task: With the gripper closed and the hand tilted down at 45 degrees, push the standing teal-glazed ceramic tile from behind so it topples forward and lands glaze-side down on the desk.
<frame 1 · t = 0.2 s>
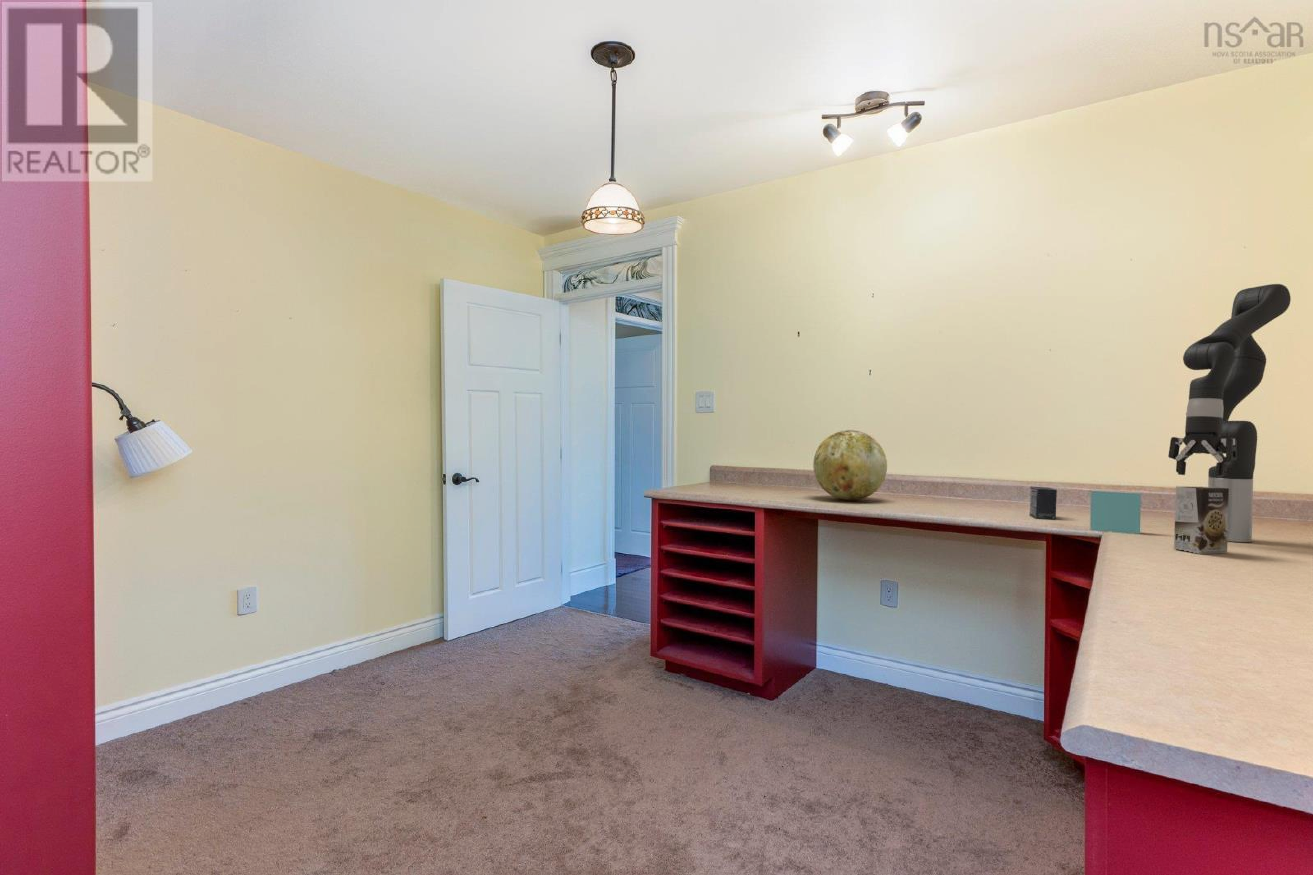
hand: (1199, 475, 169), 18 cm above the counter, tool pointing down, fingers open, 8 cm apart
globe: (849, 500, 266), on the counter
coffee box: (1200, 552, 155), on the counter
small box: (1042, 518, 218), on the counter
tile: (1114, 531, 187), on the counter
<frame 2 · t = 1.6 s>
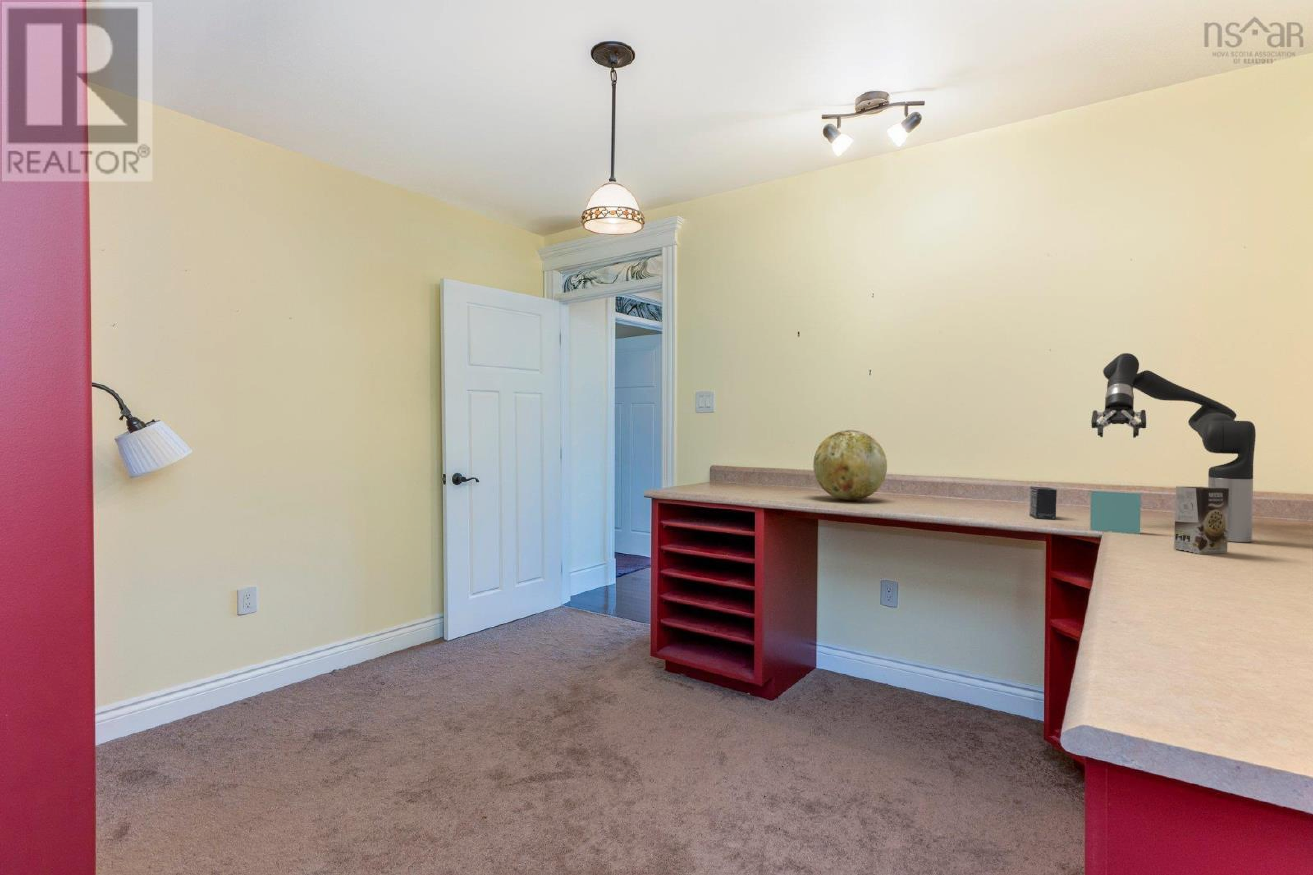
hand: (1117, 435, 197), 29 cm above the counter, tool tilted 45°, fingers open, 8 cm apart
nothing on the counter moved.
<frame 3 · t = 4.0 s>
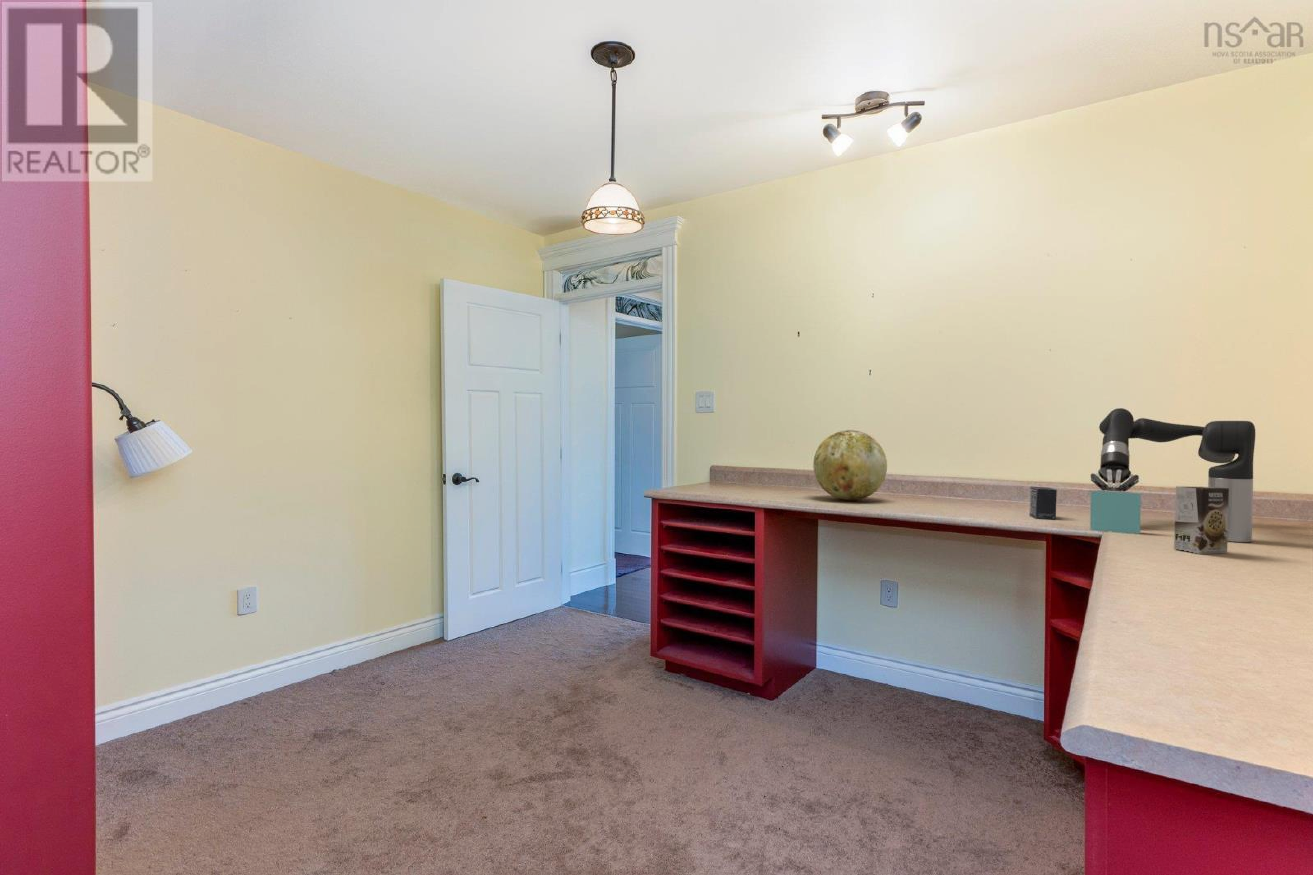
hand: (1113, 499, 193), 9 cm above the counter, tool tilted 45°, fingers closed
nothing on the counter moved.
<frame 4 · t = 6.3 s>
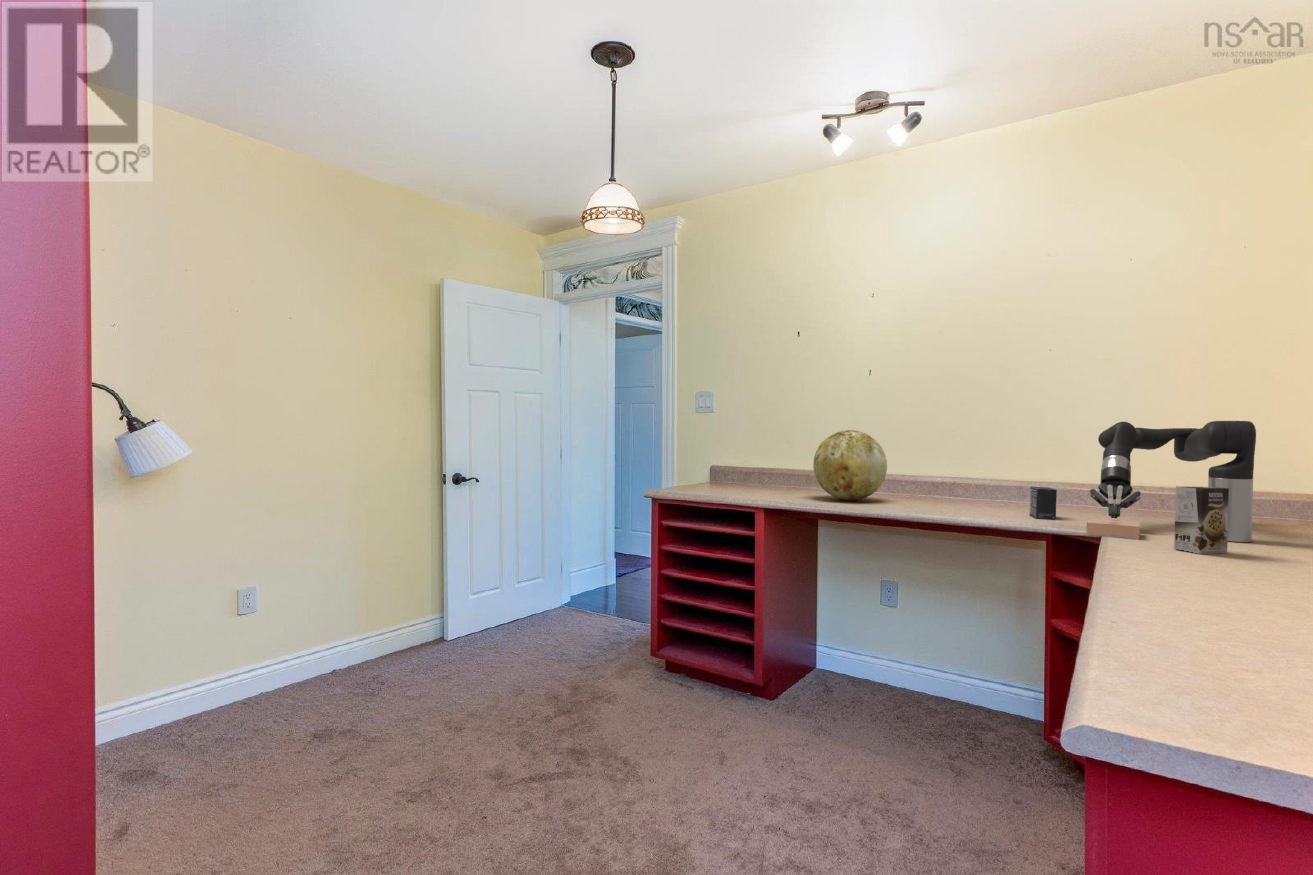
hand: (1114, 516, 184), 5 cm above the counter, tool tilted 45°, fingers closed
tile: (1114, 526, 185), point 2 cm above the counter, tilted 90°
everything else where it was.
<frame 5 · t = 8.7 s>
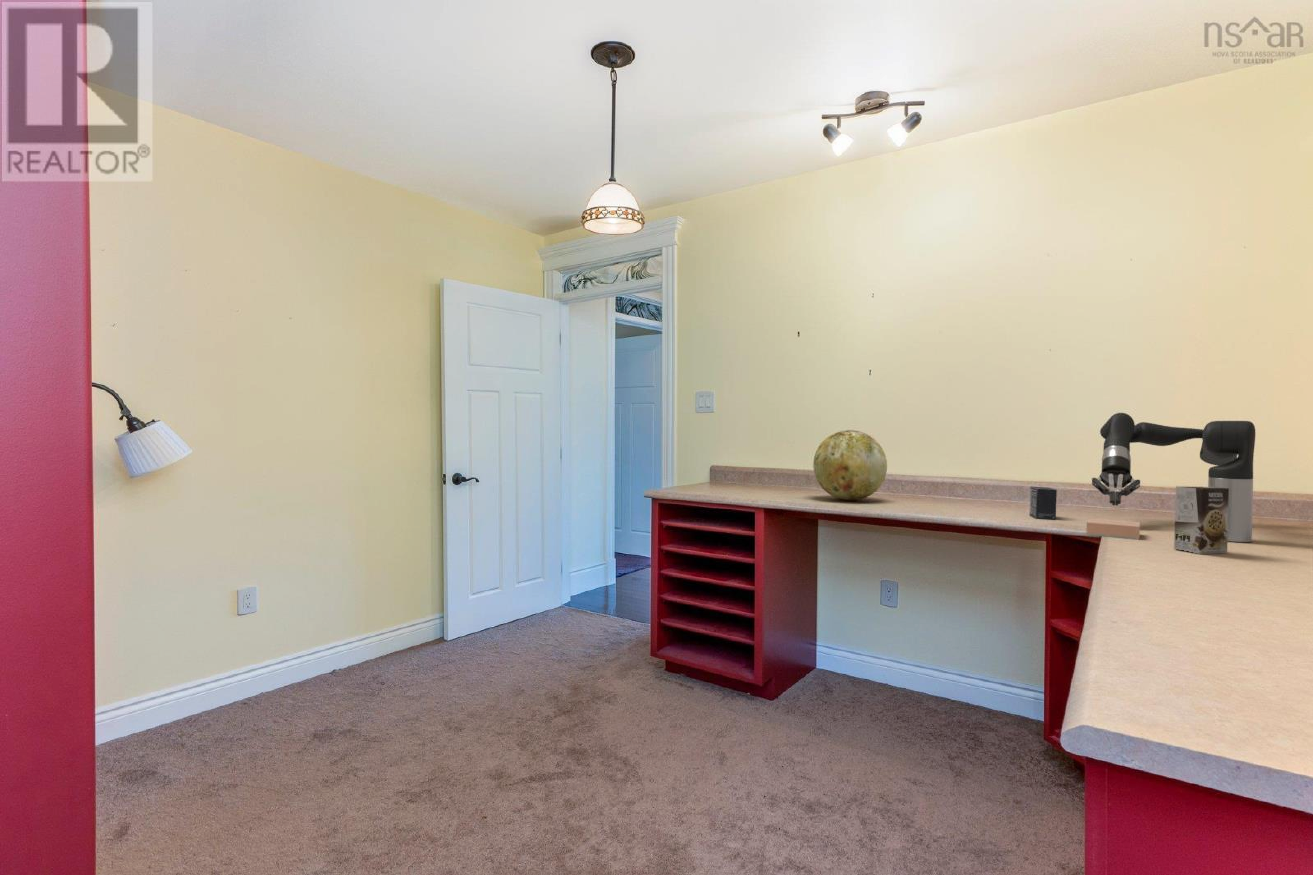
hand: (1115, 503, 193), 8 cm above the counter, tool tilted 45°, fingers closed
nothing on the counter moved.
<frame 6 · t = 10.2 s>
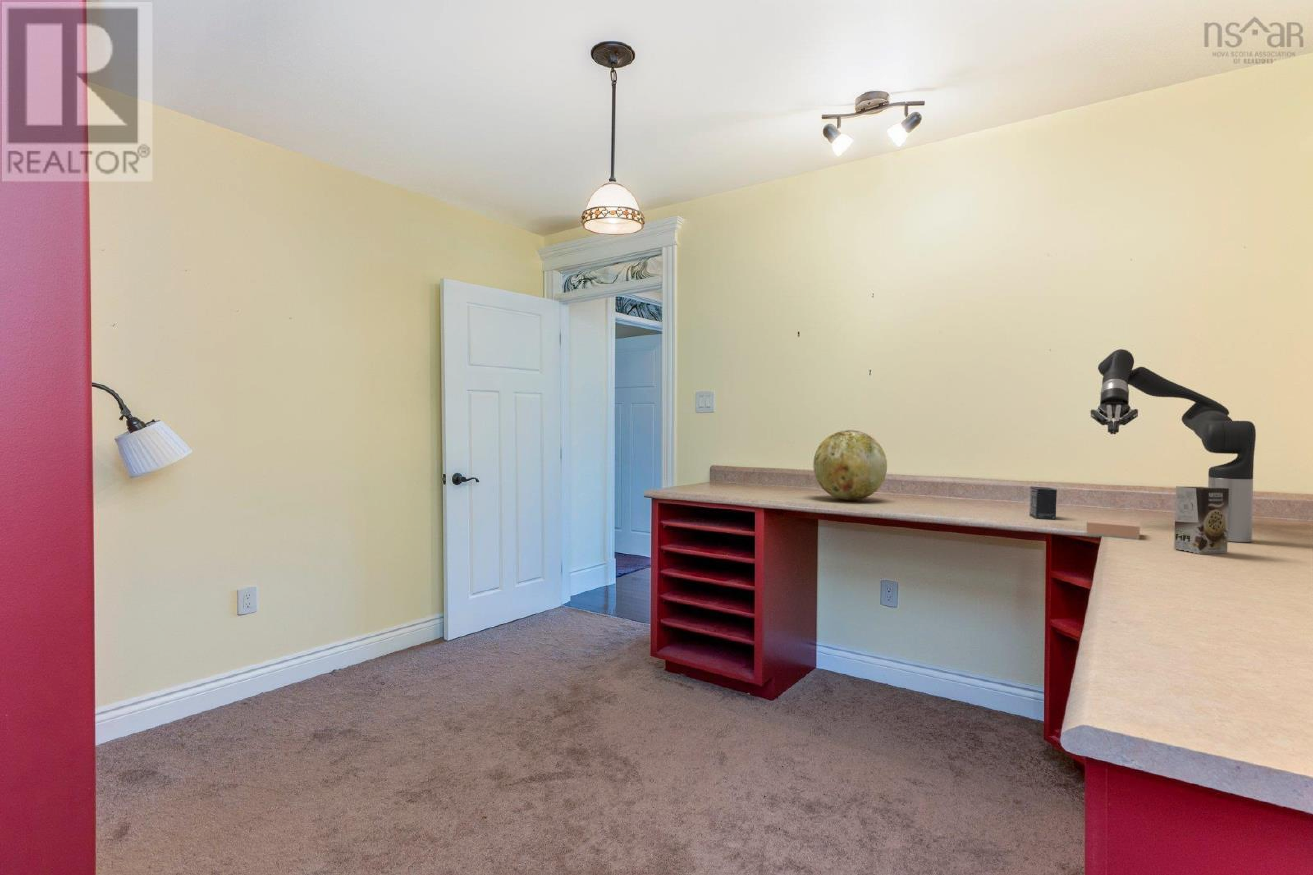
hand: (1113, 432, 196), 30 cm above the counter, tool tilted 45°, fingers closed
nothing on the counter moved.
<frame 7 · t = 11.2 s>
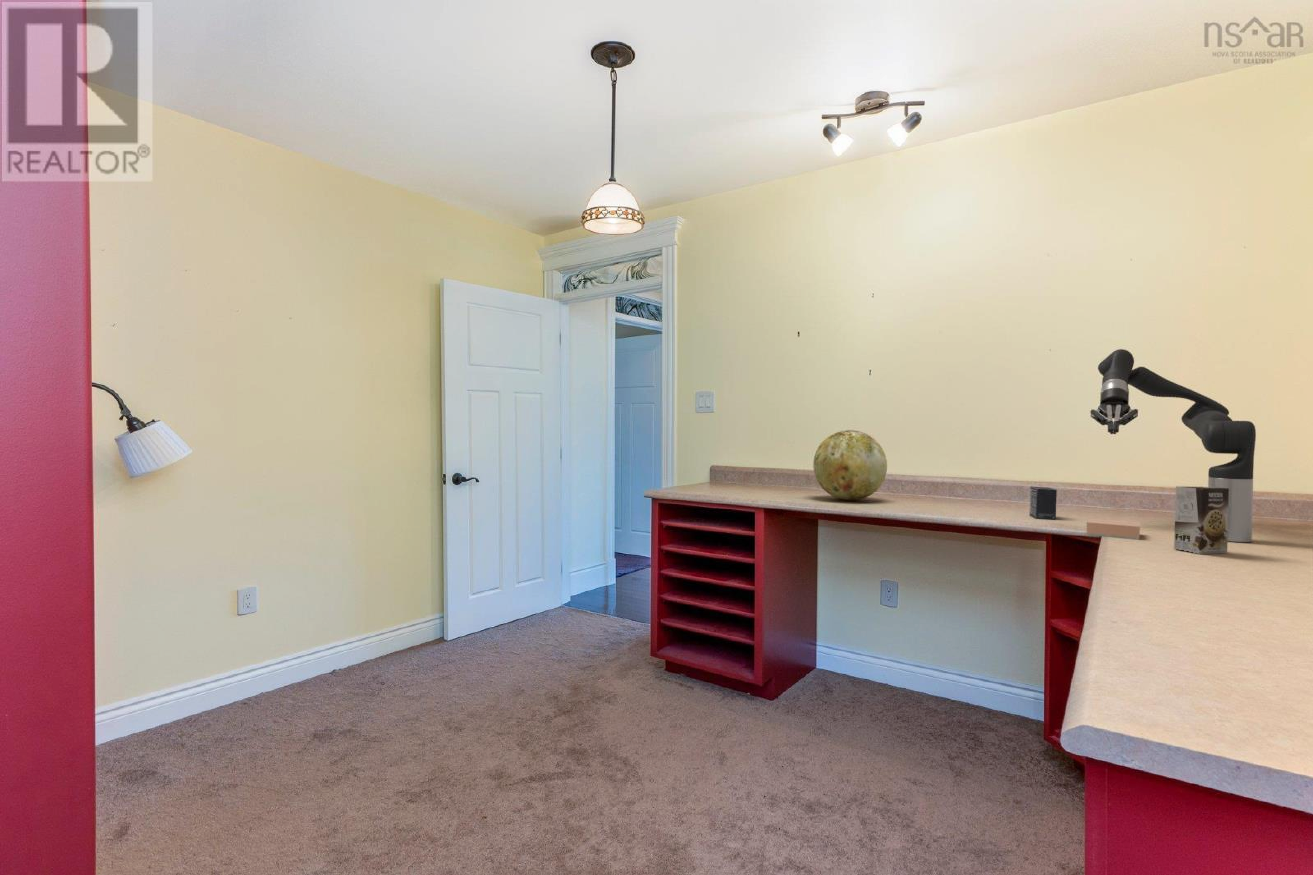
hand: (1113, 432, 196), 30 cm above the counter, tool tilted 45°, fingers closed
nothing on the counter moved.
at the end: tile tilted 90°; tile point 1.5 cm above the counter; tile inside the target area (2.6 cm from its centre), point 1.5 cm above the counter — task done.
